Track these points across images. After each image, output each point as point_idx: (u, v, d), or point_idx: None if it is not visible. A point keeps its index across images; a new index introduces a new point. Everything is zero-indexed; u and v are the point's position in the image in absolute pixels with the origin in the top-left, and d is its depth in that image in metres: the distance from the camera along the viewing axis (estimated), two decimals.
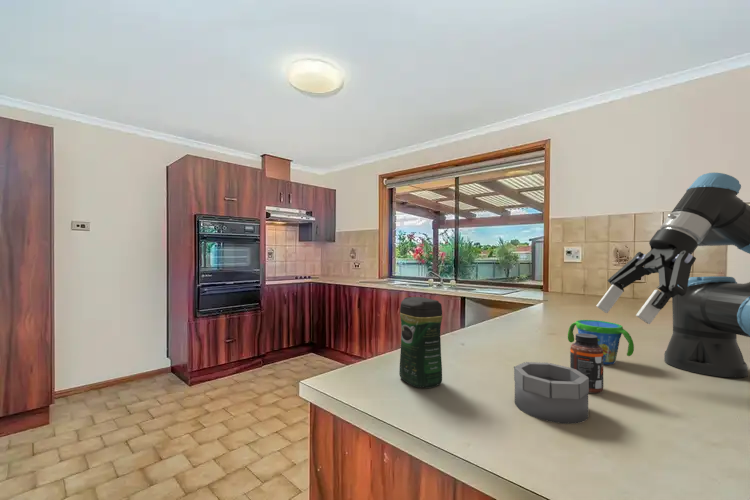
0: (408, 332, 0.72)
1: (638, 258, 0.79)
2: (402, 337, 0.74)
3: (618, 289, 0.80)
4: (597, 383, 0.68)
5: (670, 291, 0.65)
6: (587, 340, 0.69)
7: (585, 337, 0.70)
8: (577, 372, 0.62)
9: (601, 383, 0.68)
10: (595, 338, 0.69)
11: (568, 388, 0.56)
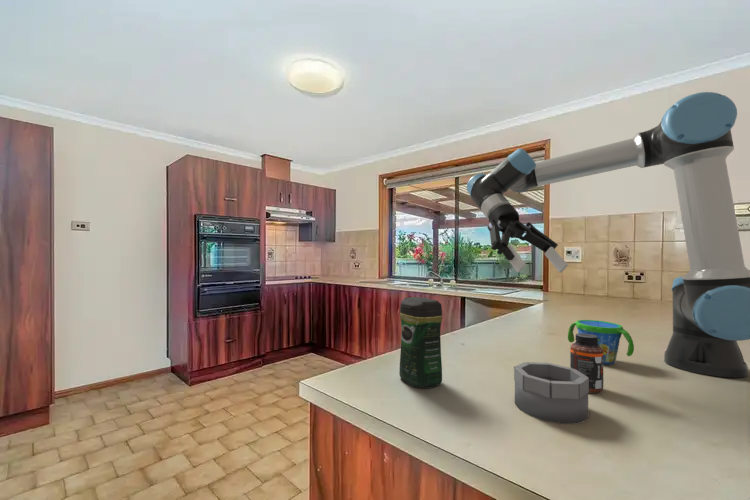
0: (408, 332, 0.72)
1: (525, 232, 0.93)
2: (402, 337, 0.74)
3: (548, 250, 0.87)
4: (597, 383, 0.68)
5: (498, 248, 0.82)
6: (587, 340, 0.69)
7: (585, 337, 0.70)
8: (577, 372, 0.62)
9: (601, 383, 0.68)
10: (595, 338, 0.69)
11: (568, 388, 0.56)
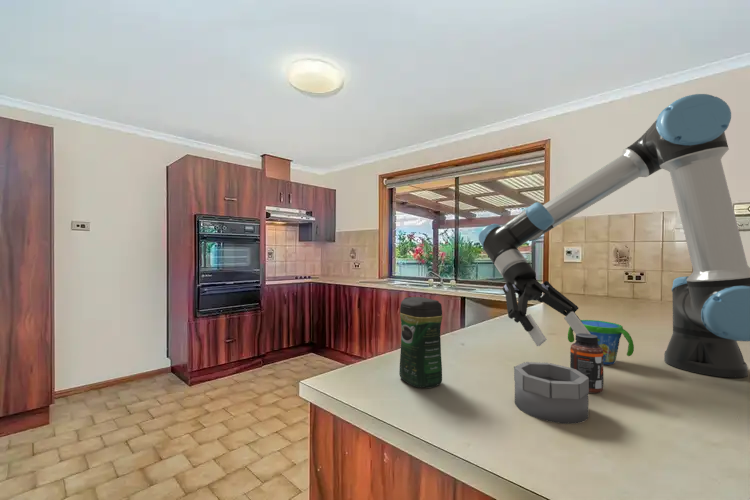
0: (408, 332, 0.72)
1: None
2: (402, 337, 0.74)
3: (568, 315, 0.81)
4: (597, 384, 0.68)
5: (516, 317, 0.77)
6: (587, 340, 0.69)
7: (585, 337, 0.70)
8: (577, 372, 0.62)
9: (601, 383, 0.68)
10: (595, 338, 0.69)
11: (568, 388, 0.56)
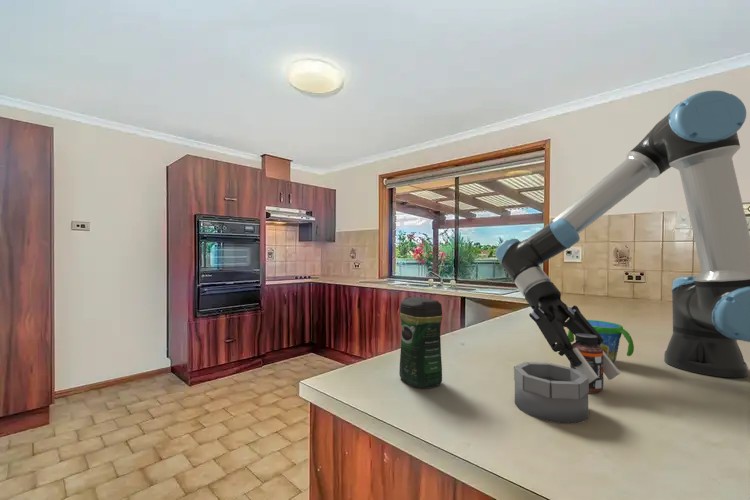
0: (408, 332, 0.72)
1: None
2: (402, 337, 0.74)
3: None
4: (597, 383, 0.68)
5: (561, 350, 0.70)
6: (587, 340, 0.69)
7: (585, 337, 0.70)
8: (577, 372, 0.62)
9: (601, 383, 0.68)
10: (595, 338, 0.69)
11: (568, 388, 0.56)
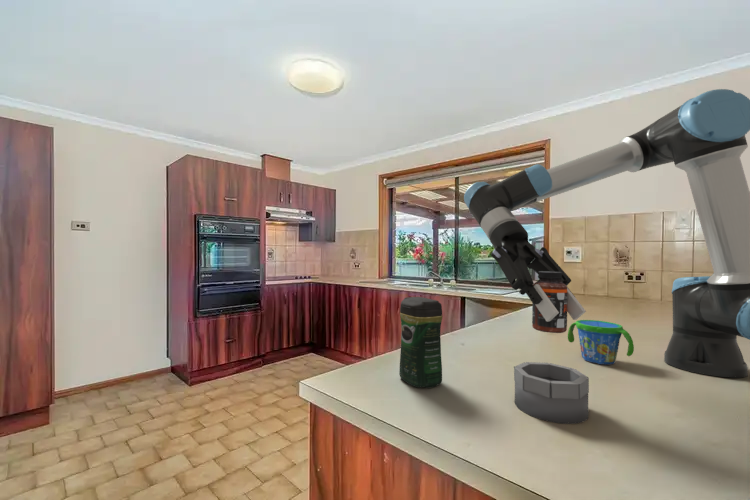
0: (408, 332, 0.72)
1: None
2: (402, 337, 0.74)
3: None
4: (559, 322, 0.61)
5: (521, 288, 0.64)
6: (549, 275, 0.63)
7: (547, 272, 0.63)
8: (577, 372, 0.62)
9: (564, 322, 0.61)
10: (558, 273, 0.62)
11: (568, 388, 0.56)
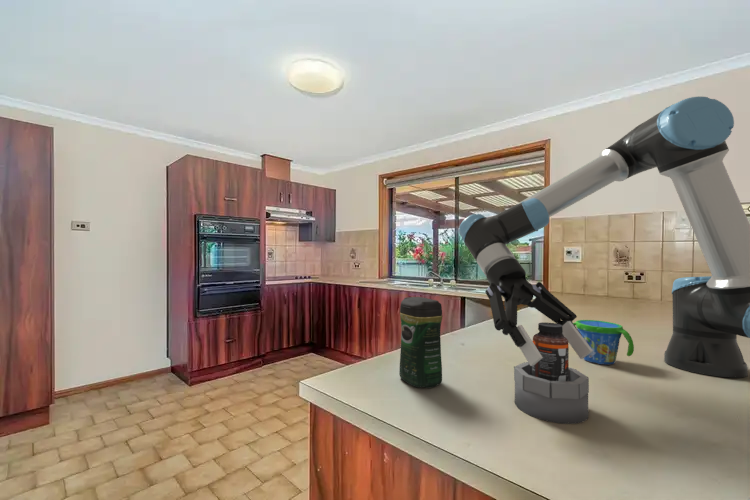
0: (408, 332, 0.72)
1: None
2: (402, 337, 0.74)
3: (564, 326, 0.65)
4: (561, 379, 0.59)
5: (504, 329, 0.61)
6: (550, 329, 0.60)
7: (548, 326, 0.61)
8: (577, 372, 0.62)
9: (565, 379, 0.59)
10: (559, 327, 0.60)
11: (568, 388, 0.56)
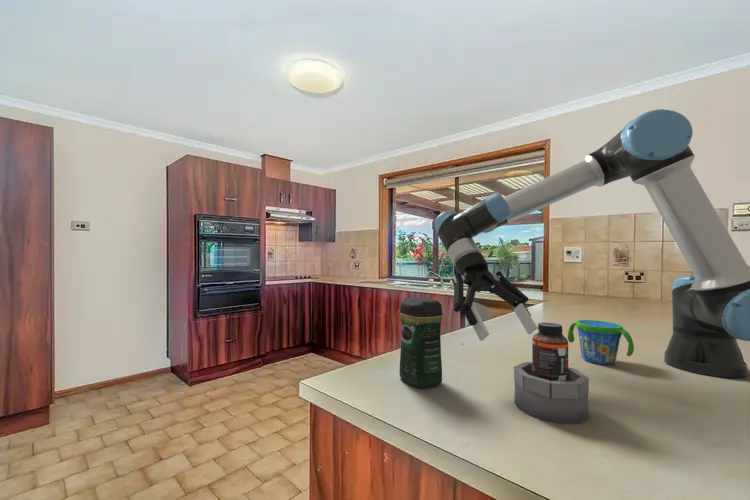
0: (408, 332, 0.72)
1: None
2: (402, 337, 0.74)
3: (517, 307, 0.79)
4: (561, 379, 0.59)
5: (461, 311, 0.74)
6: (550, 329, 0.60)
7: (547, 326, 0.61)
8: (577, 372, 0.62)
9: (565, 379, 0.59)
10: (559, 327, 0.60)
11: (568, 388, 0.56)
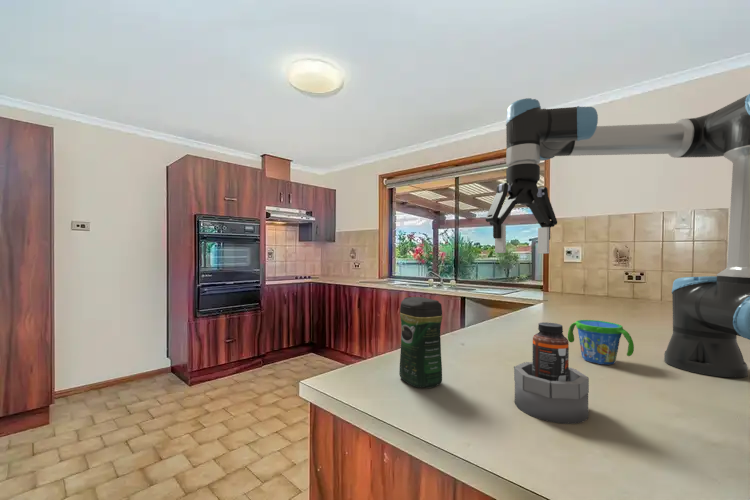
0: (408, 332, 0.72)
1: None
2: (402, 337, 0.74)
3: (543, 228, 0.83)
4: (561, 379, 0.59)
5: (491, 222, 0.78)
6: (550, 329, 0.60)
7: (548, 326, 0.61)
8: (577, 372, 0.62)
9: (565, 379, 0.59)
10: (559, 327, 0.60)
11: (568, 388, 0.56)
